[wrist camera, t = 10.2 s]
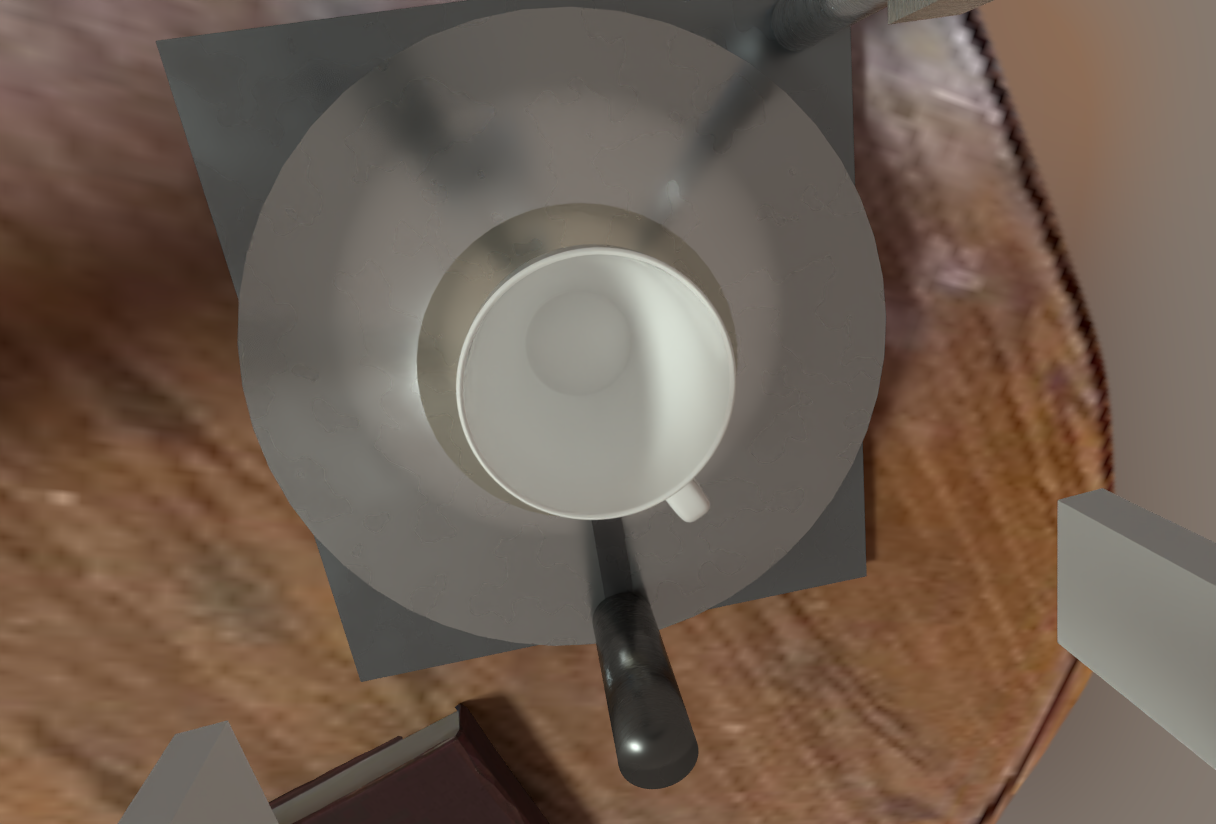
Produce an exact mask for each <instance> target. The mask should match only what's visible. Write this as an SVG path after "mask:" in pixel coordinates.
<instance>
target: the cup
mask: <svg viewBox="0 0 1216 824" xmlns="http://www.w3.org/2000/svg"><path fill="white" fill-rule="evenodd" d="M735 394H736V365H735V357H734V352H733V348H732V344H731V341H730V337H729V335H728V332H727V329H726V327H725V325H724V323H723V321H722V319H721V317H720V315H719V313H718V312H717V310H716V308H715V307H714V305H713V304H712V303H711V301H710V300H709V299H708V297H707V296H706V295H705V294H704V293H703V292H702V290H701V289H700V288H699V287H698V286H697V285H696V284H695V283H693V282H692V281H691V280H690V279H689V278H688V277H686V276H685V275H684V274H682V273H681V272H680V271H678V270H677V269H675V268H674V267H672V266H670V265H668V264H667V263H665V262H663V261H661V260H658V259H656V258H654V257H652V256H649V255H647V254H644V253H641V252H639V251H636V250H632V249H629V248H625V247H620V246H615V245H607V244H579V245H571V246H566V247H561V248H558V249H554V250H551V251H548V252H545V253H543V254H540V255H538V256H536V257H534V258H532V259H530V260H528V261H527V262H525V263H523V264H522V265H520V266H519V267H517V268H516V269H514V270H513V271H512V272H511V273H509V274H508V275H507V276H506V277H505V278H504V279H502V280H501V281H500V282H499V283H498V284H497V285H496V287H495V288H494V289H493V290H492V291H491V292H490V294H489V295H488V296H487V297H486V299H485V300H484V302H483V303H482V305H481V306H480V308H479V309H478V311H477V313H476V315H475V317H474V319H473V321H472V323H471V325H470V327H469V330H468V332H467V335H466V338H465V341H464V344H463V347H462V350H461V354H460V358H459V362H458V368H457V378H456V398H457V407H458V413H459V417H460V421H461V425H462V428H463V431H464V434H465V437H466V439H467V441H468V443H469V445H470V448H471V449H472V451H473V453H474V455H475V456H476V458H477V460H478V461H479V462H480V464H481V465H482V467H483V468H484V469H485V470H486V472H487V473H488V474H489V475H490V476H491V477H492V478H493V479H494V480H495V481H496V482H497V483H498V484H499V485H500V486H501V487H502V488H503V489H505V490H506V491H507V492H509V493H510V494H511V495H513V496H514V497H516V498H517V499H519V500H521V501H522V502H524V503H526V504H528V505H530V506H532V507H534V508H536V509H539V510H541V511H544V512H547V513H550V514H553V515H557V516H561V517H566V518H572V519H581V520H603V519H612V518H618V517H623V516H627V515H631V514H634V513H638V512H641V511H643V510H646V509H648V508H651V507H653V506H655V505H657V504H659V503H661V502H663V501H664V500H666V502H667V503H668V504H669V505H670V507H671V508H672V509H673V510H674V511H675V513H676V514H677V515H678V516H679V517H680V518H681V519H682V520H683V521H685V522H688V523H691V522H694V521H696V520H698V519H699V518H701V517H702V516H703V515H705V514H706V513H707V512H708V511H709V509H710V506H711V504H710V500H709V498H708V497H707V495H706V493H705V492H704V490H703V488H702V487H701V485H700V484H699V483H698V481H697V480H696V478H695V477H696V476H697V475H698V474H699V473H700V471H701V470H702V469H703V468H704V467H705V466H706V464H707V463H708V462H709V460H710V459H711V458H712V456H713V455H714V453H715V451H716V450H717V448H718V446H719V445H720V443H721V441H722V439H723V437H724V434H725V432H726V430H727V427H728V424H729V422H730V418H731V415H732V411H733V407H734V401H735Z"/></svg>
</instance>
